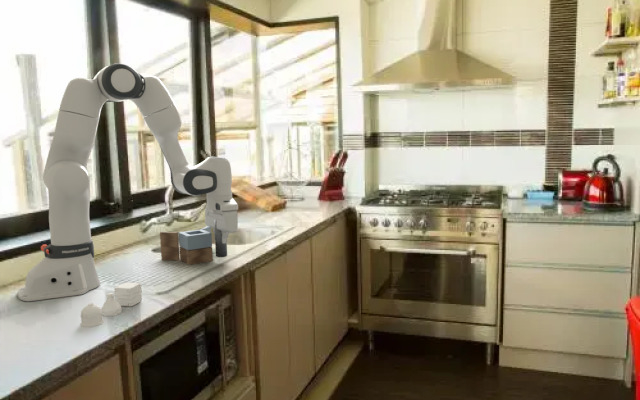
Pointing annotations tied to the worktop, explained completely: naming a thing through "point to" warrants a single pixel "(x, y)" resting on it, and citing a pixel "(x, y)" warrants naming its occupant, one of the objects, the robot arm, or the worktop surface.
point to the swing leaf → (196, 238)
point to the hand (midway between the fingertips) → (221, 241)
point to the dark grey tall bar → (219, 243)
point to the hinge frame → (182, 250)
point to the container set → (111, 304)
